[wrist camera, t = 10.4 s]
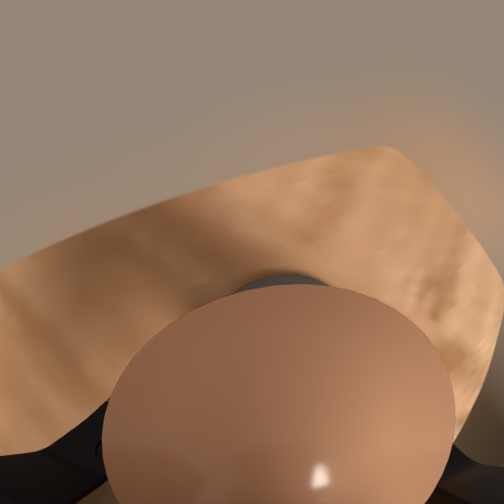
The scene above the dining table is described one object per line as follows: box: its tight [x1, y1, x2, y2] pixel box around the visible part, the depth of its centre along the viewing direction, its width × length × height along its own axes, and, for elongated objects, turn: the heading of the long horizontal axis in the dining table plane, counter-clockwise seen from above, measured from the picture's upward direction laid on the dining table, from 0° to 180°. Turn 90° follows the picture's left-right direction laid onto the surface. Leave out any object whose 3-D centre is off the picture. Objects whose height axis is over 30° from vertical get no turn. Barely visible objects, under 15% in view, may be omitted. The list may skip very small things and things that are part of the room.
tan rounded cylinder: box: [102, 284, 455, 504], centre depth 9 cm, size 5×5×12 cm
